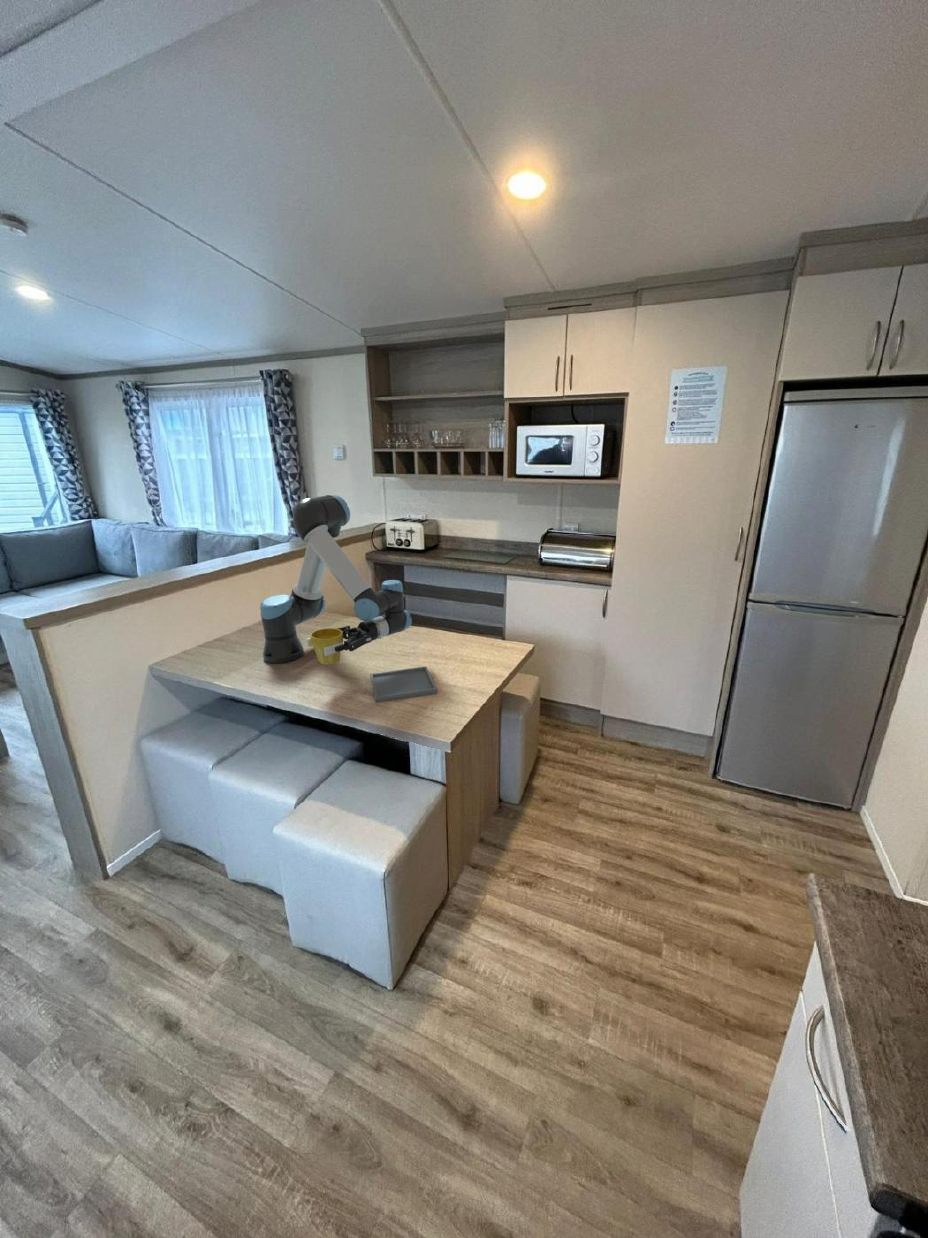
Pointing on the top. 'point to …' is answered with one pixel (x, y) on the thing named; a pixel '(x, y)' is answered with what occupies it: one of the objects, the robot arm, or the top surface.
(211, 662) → the top surface
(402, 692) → the charcoal tray
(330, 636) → the plant pot
